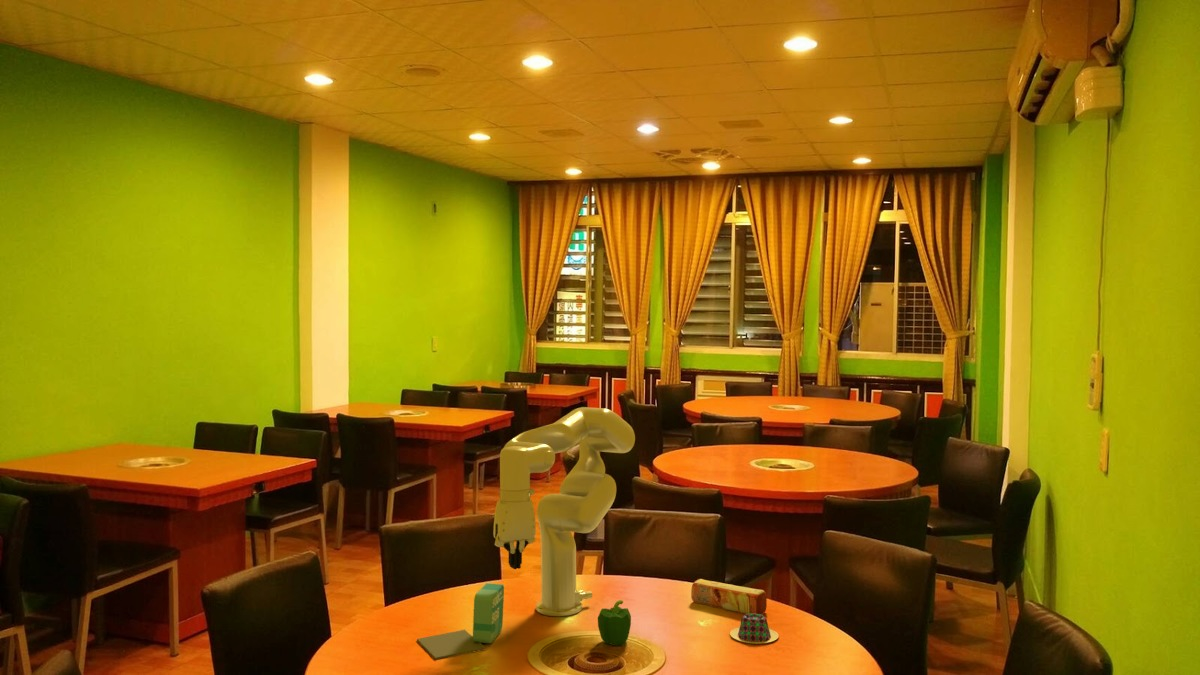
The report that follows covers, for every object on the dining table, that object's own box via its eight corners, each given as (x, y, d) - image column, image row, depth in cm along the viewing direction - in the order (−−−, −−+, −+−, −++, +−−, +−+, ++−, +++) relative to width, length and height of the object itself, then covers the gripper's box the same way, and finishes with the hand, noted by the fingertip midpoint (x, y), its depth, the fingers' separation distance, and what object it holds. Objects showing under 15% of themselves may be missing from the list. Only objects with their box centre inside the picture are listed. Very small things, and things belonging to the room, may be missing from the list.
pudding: (779, 630, 228) (779, 610, 227) (777, 648, 216) (777, 626, 216) (732, 627, 231) (732, 607, 230) (727, 644, 219) (727, 623, 219)
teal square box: (490, 645, 217) (492, 596, 217) (472, 643, 218) (474, 594, 218) (502, 629, 229) (504, 583, 229) (485, 628, 230) (487, 581, 230)
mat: (464, 631, 228) (464, 629, 228) (485, 649, 216) (485, 647, 216) (417, 640, 222) (417, 638, 222) (435, 659, 210) (435, 657, 210)
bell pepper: (608, 651, 214) (608, 609, 214) (592, 640, 222) (592, 600, 221) (638, 644, 218) (638, 604, 218) (622, 634, 225) (622, 595, 225)
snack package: (689, 603, 249) (689, 579, 249) (702, 597, 254) (702, 574, 254) (756, 620, 236) (756, 594, 235) (768, 613, 241) (768, 588, 240)
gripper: (535, 490, 233) (535, 560, 234) (481, 496, 226) (482, 568, 226) (548, 495, 227) (548, 567, 227) (493, 501, 220) (493, 575, 220)
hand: (515, 567), depth 227 cm, fingers closed
